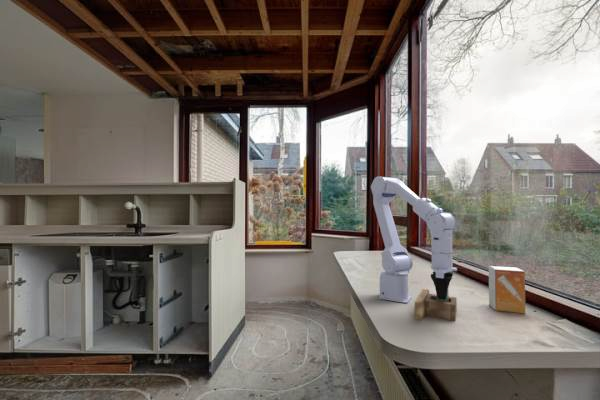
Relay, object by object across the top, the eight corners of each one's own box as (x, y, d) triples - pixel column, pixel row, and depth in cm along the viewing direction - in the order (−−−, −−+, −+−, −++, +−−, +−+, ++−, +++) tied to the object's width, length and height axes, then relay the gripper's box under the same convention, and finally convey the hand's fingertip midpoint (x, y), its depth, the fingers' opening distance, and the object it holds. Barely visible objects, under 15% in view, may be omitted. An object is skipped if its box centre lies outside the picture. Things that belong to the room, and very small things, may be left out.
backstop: (414, 318, 82) (414, 301, 82) (422, 304, 95) (422, 289, 95) (422, 320, 81) (422, 302, 81) (429, 305, 94) (429, 290, 94)
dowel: (436, 303, 85) (435, 280, 86) (437, 300, 88) (437, 277, 88) (448, 305, 84) (447, 281, 84) (449, 302, 86) (448, 279, 87)
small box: (495, 311, 89) (494, 269, 89) (488, 304, 95) (488, 265, 95) (526, 314, 86) (525, 271, 87) (517, 307, 92) (516, 267, 93)
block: (424, 315, 85) (424, 300, 85) (428, 307, 91) (428, 293, 92) (455, 321, 80) (455, 304, 81) (456, 312, 87) (456, 297, 87)
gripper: (455, 256, 78) (456, 306, 78) (457, 250, 90) (458, 293, 90) (427, 254, 82) (428, 302, 81) (433, 248, 94) (434, 290, 94)
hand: (442, 297), depth 86 cm, fingers closed on dowel, 3 cm apart
